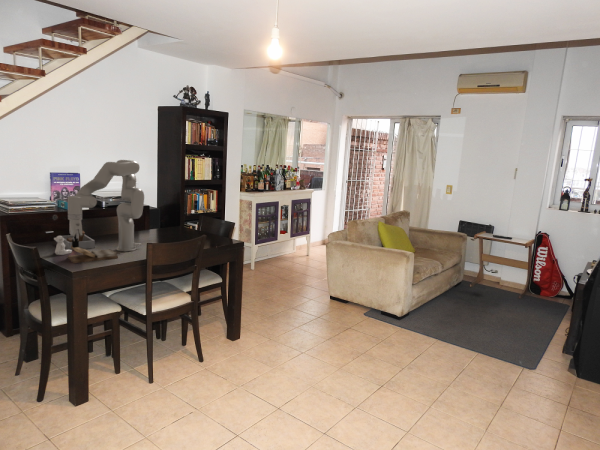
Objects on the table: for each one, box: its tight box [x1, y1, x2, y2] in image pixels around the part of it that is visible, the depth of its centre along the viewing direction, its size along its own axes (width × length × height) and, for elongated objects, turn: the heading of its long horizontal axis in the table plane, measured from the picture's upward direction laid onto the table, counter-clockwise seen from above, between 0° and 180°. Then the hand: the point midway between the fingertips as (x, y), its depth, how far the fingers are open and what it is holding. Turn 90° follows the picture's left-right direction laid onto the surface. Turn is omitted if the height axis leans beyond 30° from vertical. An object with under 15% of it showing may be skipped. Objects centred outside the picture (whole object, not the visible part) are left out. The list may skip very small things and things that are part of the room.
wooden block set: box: [67, 230, 86, 242], centre depth 293 cm, size 18×9×10 cm, turn 152°
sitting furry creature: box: [53, 235, 73, 256], centre depth 268 cm, size 10×9×12 cm
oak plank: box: [71, 246, 95, 257], centre depth 260 cm, size 11×12×2 cm
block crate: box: [61, 234, 96, 251], centre depth 293 cm, size 16×24×5 cm, turn 41°
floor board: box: [67, 248, 119, 264], centre depth 264 cm, size 25×14×3 cm, turn 132°
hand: (75, 247), depth 256 cm, fingers closed
